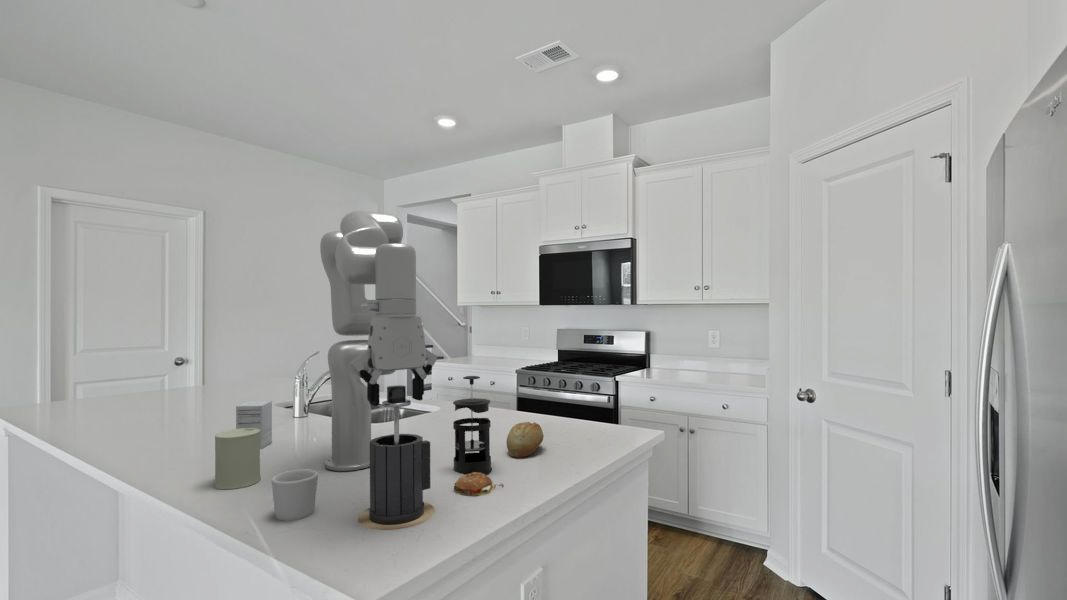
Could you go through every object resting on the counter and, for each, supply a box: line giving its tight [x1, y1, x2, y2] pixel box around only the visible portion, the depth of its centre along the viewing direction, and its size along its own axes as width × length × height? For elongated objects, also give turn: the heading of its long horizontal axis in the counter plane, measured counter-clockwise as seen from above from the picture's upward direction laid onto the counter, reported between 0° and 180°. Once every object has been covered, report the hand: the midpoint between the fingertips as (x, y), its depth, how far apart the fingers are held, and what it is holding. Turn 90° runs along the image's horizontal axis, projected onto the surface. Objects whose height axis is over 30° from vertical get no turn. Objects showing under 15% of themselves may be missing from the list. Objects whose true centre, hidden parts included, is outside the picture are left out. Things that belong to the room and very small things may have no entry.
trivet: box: [357, 501, 436, 531], centre depth 95 cm, size 14×14×1 cm
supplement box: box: [235, 400, 273, 449], centre depth 148 cm, size 7×7×13 cm
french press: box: [452, 375, 493, 476], centre depth 123 cm, size 12×9×23 cm
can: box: [213, 428, 262, 491], centre depth 116 cm, size 9×9×12 cm
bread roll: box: [506, 421, 544, 459], centre depth 139 cm, size 10×15×8 cm, turn 168°
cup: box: [271, 468, 319, 521], centre depth 97 cm, size 11×8×8 cm
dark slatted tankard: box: [368, 433, 431, 525], centre depth 95 cm, size 10×12×14 cm
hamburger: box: [452, 472, 505, 497], centre depth 109 cm, size 14×14×6 cm
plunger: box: [381, 384, 412, 445], centre depth 95 cm, size 6×6×21 cm
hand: (396, 401), depth 95 cm, fingers open, 8 cm apart
